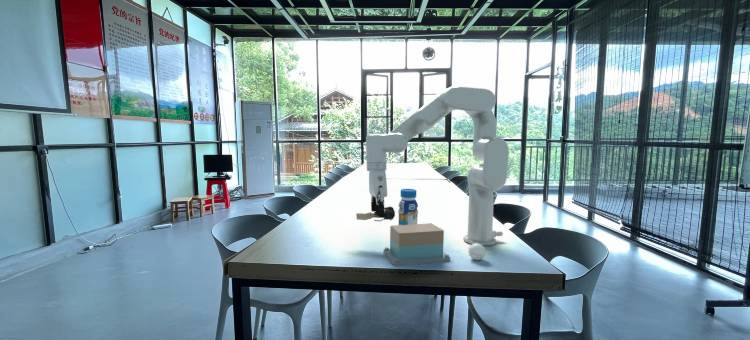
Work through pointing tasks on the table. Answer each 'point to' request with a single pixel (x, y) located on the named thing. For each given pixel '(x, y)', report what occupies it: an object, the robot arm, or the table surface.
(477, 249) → the white sphere
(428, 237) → the tan and blue box
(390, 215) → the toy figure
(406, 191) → the beverage bottle
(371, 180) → the robot arm
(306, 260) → the table surface
